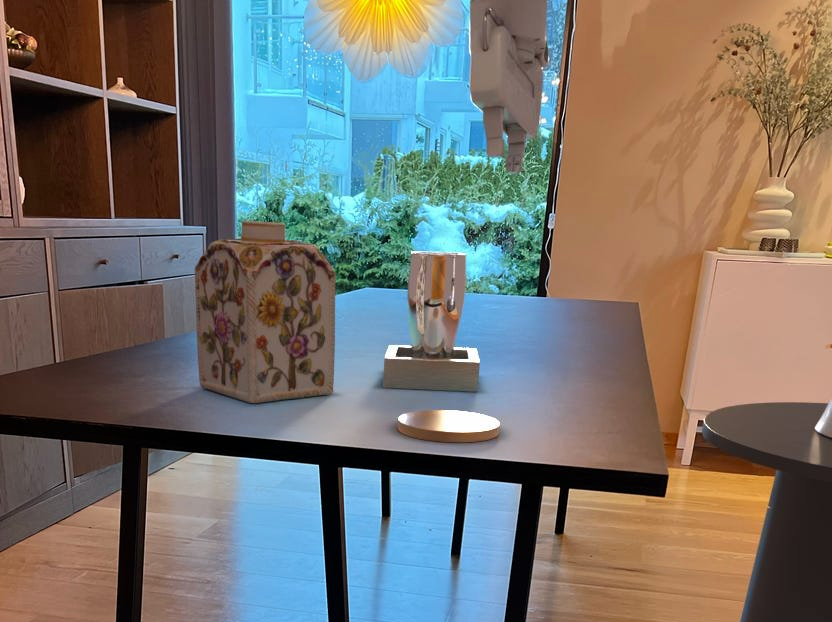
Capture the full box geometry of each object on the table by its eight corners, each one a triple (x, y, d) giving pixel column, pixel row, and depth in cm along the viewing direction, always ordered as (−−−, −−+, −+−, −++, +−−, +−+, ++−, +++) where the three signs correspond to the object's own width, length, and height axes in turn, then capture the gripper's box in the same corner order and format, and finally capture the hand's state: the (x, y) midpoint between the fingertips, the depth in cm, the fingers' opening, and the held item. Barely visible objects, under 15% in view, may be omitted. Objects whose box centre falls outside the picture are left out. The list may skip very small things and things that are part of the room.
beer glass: (442, 388, 109) (451, 255, 103) (392, 382, 112) (398, 252, 106) (467, 381, 114) (477, 253, 108) (419, 375, 118) (427, 251, 111)
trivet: (495, 422, 93) (496, 412, 92) (501, 444, 84) (502, 434, 83) (399, 417, 93) (400, 408, 93) (395, 439, 84) (395, 429, 84)
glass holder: (474, 376, 118) (476, 348, 117) (477, 392, 108) (479, 362, 106) (387, 372, 119) (389, 345, 117) (383, 387, 109) (384, 357, 107)
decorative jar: (196, 387, 105) (189, 218, 97) (278, 379, 112) (277, 220, 104) (252, 405, 97) (248, 222, 89) (337, 395, 103) (340, 223, 96)
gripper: (514, -6, 94) (510, 142, 97) (551, 55, 112) (547, 178, 115) (455, 5, 96) (454, 149, 100) (501, 63, 114) (499, 183, 118)
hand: (504, 165), depth 108 cm, fingers open, 8 cm apart
